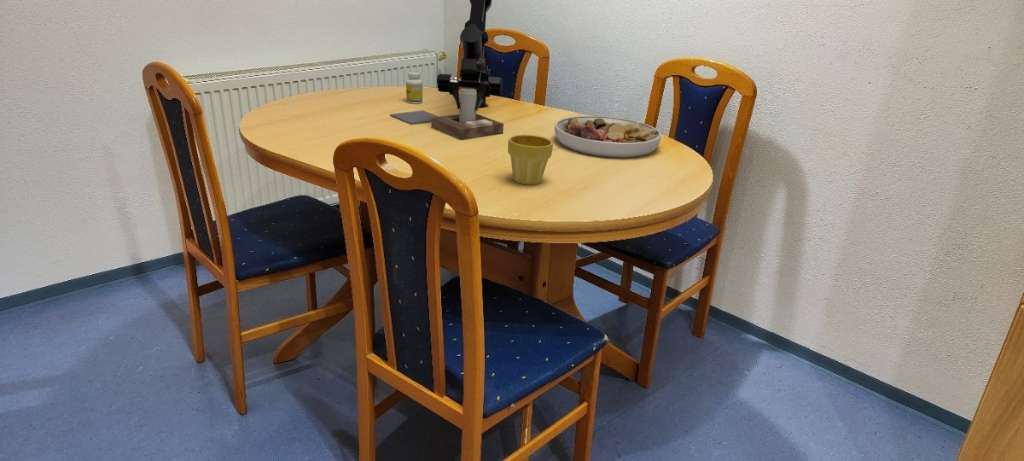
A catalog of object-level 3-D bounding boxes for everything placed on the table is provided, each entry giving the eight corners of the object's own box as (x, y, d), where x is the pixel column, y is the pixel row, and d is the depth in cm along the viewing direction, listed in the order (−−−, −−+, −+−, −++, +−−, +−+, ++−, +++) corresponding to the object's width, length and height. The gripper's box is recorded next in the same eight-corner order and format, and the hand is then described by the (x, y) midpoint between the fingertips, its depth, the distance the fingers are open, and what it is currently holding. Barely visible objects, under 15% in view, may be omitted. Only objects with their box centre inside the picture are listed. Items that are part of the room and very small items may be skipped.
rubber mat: (423, 111, 214) (423, 110, 214) (444, 120, 206) (444, 118, 206) (390, 115, 207) (390, 114, 207) (411, 124, 199) (411, 123, 198)
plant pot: (558, 181, 159) (562, 141, 155) (530, 190, 151) (533, 148, 148) (525, 170, 165) (528, 131, 161) (496, 178, 158) (499, 138, 154)
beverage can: (475, 128, 199) (477, 88, 194) (475, 133, 194) (476, 91, 190) (459, 128, 198) (460, 87, 194) (458, 132, 194) (459, 90, 189)
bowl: (580, 126, 211) (583, 101, 208) (673, 144, 197) (677, 118, 194) (534, 146, 187) (536, 118, 184) (636, 168, 173) (640, 139, 170)
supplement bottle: (405, 100, 228) (405, 71, 224) (420, 100, 229) (421, 71, 226) (407, 104, 223) (407, 74, 219) (423, 104, 225) (424, 74, 221)
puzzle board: (472, 122, 206) (472, 109, 205) (503, 133, 196) (503, 120, 194) (431, 127, 197) (431, 114, 195) (461, 140, 187) (461, 126, 185)
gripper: (438, 44, 191) (432, 91, 185) (503, 49, 191) (500, 95, 185) (440, 68, 201) (435, 113, 195) (503, 72, 201) (499, 117, 195)
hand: (467, 109), depth 193 cm, fingers closed on beverage can, 5 cm apart
